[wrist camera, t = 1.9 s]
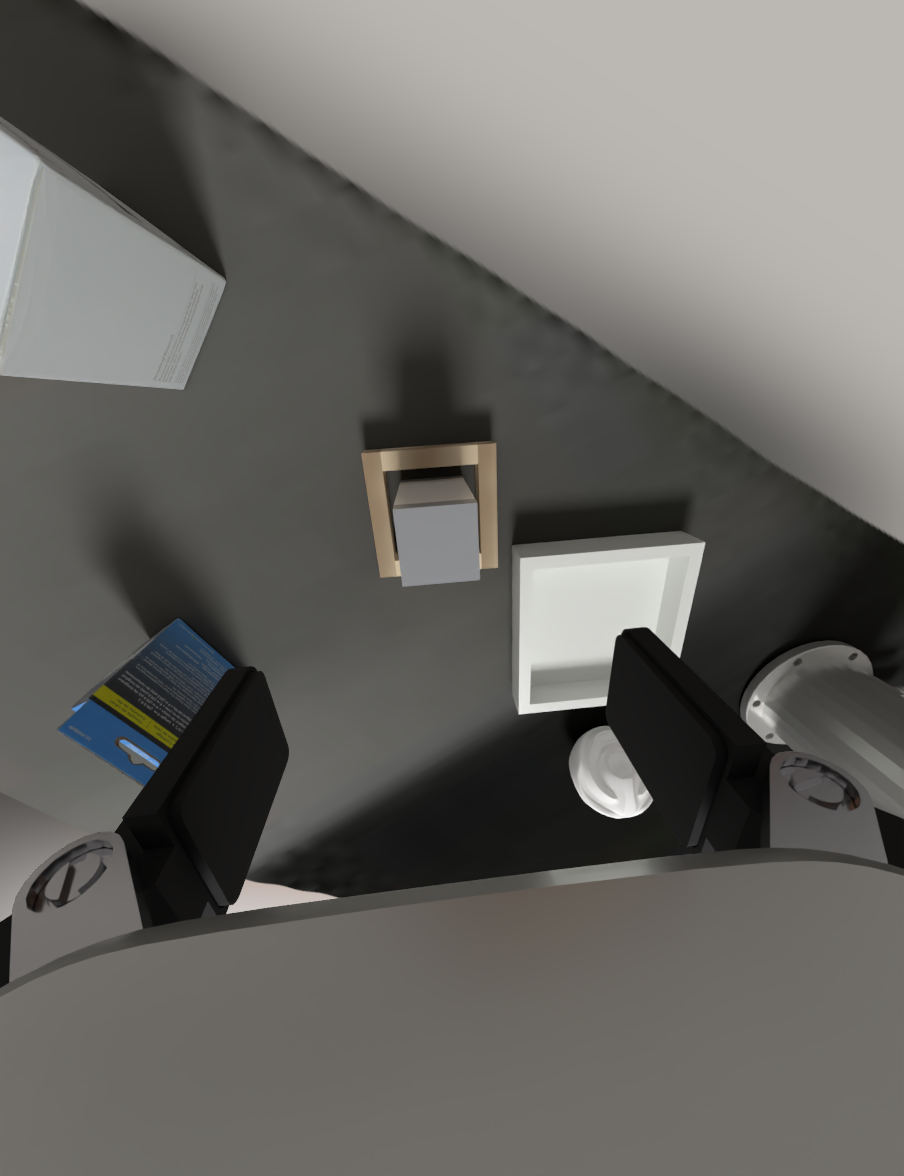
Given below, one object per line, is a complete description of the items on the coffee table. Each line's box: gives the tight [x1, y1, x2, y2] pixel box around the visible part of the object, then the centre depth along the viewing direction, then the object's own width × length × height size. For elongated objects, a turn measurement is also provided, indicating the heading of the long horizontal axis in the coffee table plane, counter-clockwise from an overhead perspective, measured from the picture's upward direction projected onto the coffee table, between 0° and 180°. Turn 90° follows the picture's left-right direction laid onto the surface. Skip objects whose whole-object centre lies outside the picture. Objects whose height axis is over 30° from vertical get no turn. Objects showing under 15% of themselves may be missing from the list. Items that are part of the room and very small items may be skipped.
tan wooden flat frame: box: [361, 441, 498, 578], centre depth 29 cm, size 9×9×2 cm
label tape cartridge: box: [56, 618, 234, 787], centre depth 29 cm, size 9×4×12 cm, turn 33°
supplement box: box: [0, 116, 226, 390], centre depth 18 cm, size 7×7×13 cm
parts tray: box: [512, 531, 705, 714], centre depth 34 cm, size 14×15×3 cm
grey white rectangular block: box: [393, 475, 480, 587], centre depth 26 cm, size 4×4×9 cm
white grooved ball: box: [569, 726, 653, 819], centre depth 38 cm, size 8×8×8 cm
